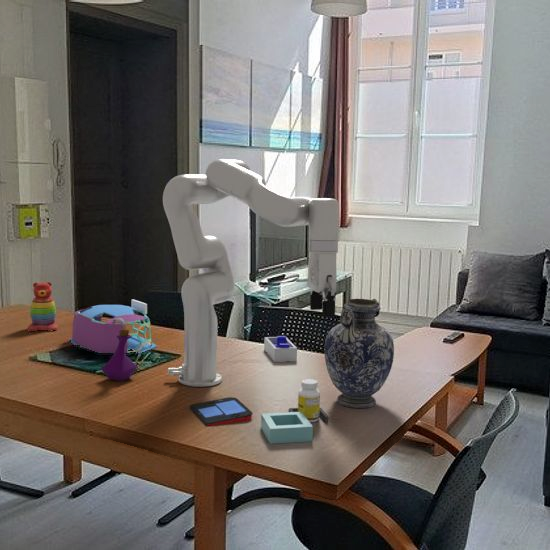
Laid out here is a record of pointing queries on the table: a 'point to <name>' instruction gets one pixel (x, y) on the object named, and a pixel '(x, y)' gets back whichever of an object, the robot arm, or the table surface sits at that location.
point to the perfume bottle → (120, 358)
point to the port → (286, 427)
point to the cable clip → (281, 342)
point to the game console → (221, 411)
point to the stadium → (111, 328)
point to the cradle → (321, 413)
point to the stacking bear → (42, 308)
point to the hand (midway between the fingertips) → (322, 312)
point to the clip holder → (280, 350)
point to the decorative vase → (359, 354)
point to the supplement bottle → (309, 400)
